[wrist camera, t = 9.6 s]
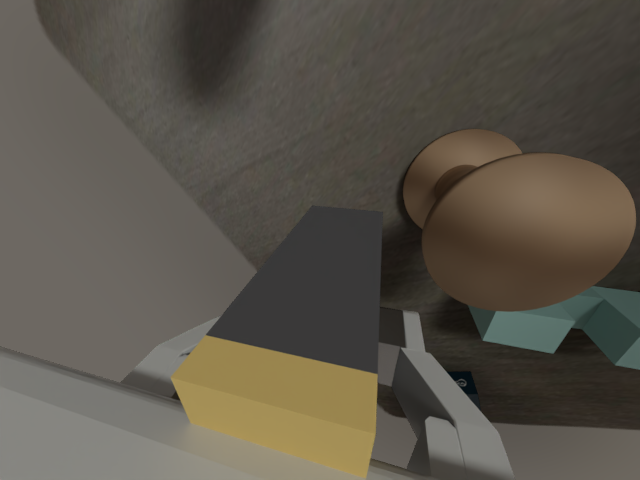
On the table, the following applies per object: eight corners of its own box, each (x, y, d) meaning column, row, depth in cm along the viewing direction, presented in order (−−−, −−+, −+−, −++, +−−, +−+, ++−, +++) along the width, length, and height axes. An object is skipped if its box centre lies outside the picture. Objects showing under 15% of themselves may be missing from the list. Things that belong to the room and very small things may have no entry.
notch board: (475, 270, 26) (497, 308, 21) (661, 295, 23) (741, 347, 18) (465, 298, 28) (482, 340, 23) (635, 325, 25) (701, 381, 20)
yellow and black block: (312, 205, 10) (171, 377, 4) (382, 212, 10) (375, 433, 3) (312, 309, 13) (233, 520, 6) (367, 319, 13) (346, 565, 6)
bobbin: (412, 127, 22) (436, 139, 11) (542, 130, 20) (716, 147, 9) (395, 228, 26) (401, 302, 16) (498, 239, 24) (582, 332, 14)
